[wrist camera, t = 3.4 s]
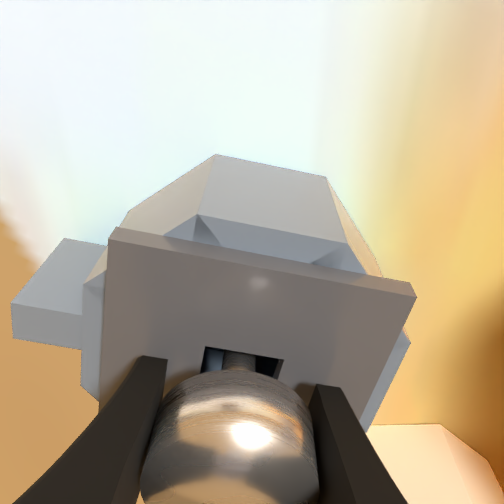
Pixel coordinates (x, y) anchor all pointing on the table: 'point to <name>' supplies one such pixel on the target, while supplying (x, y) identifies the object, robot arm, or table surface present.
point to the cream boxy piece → (434, 465)
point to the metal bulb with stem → (231, 441)
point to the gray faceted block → (227, 288)
